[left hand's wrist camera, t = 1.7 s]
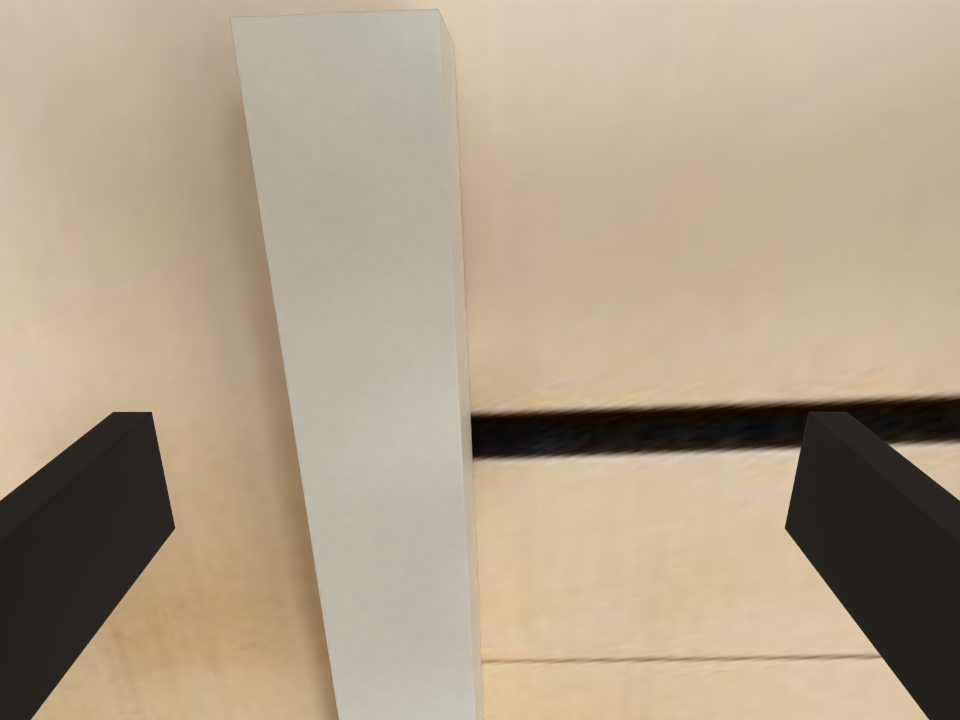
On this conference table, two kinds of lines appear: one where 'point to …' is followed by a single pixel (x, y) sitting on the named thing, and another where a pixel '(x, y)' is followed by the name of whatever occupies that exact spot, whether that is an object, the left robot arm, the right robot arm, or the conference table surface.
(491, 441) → the conference table surface
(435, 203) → the plank
